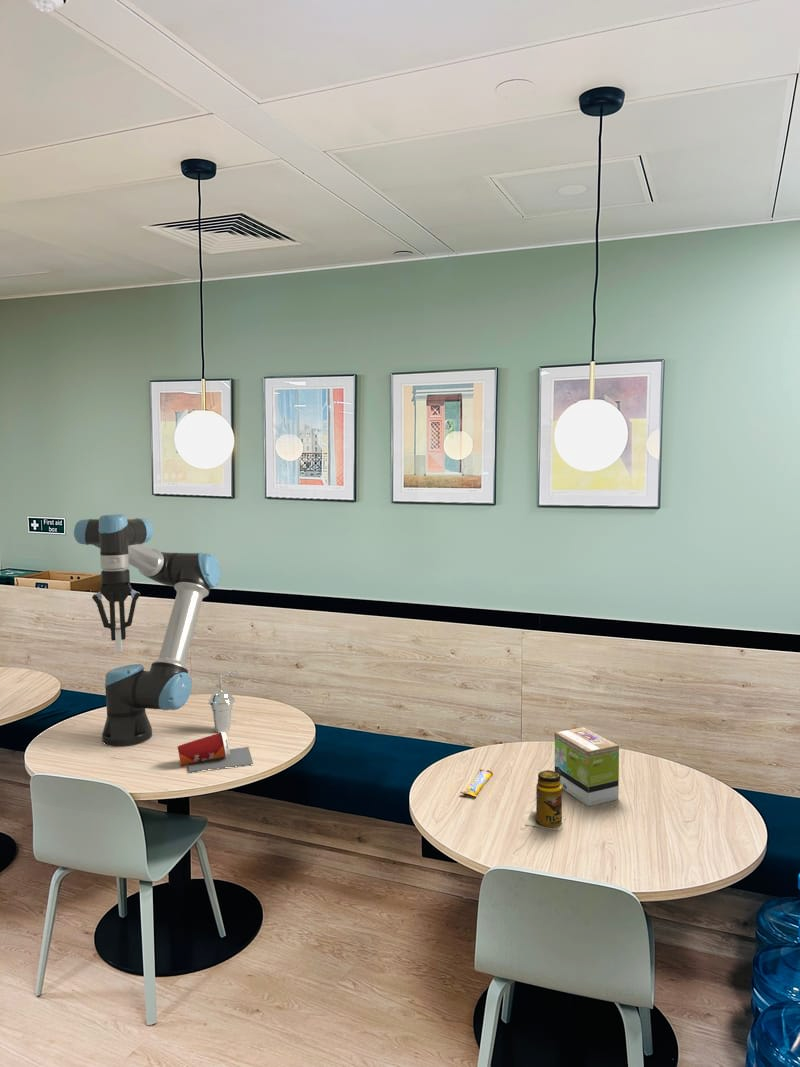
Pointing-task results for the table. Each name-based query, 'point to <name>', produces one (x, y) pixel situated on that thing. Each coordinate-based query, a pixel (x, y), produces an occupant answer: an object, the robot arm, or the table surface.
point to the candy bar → (478, 783)
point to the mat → (224, 761)
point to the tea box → (587, 765)
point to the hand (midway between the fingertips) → (119, 651)
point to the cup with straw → (222, 707)
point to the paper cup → (204, 749)
